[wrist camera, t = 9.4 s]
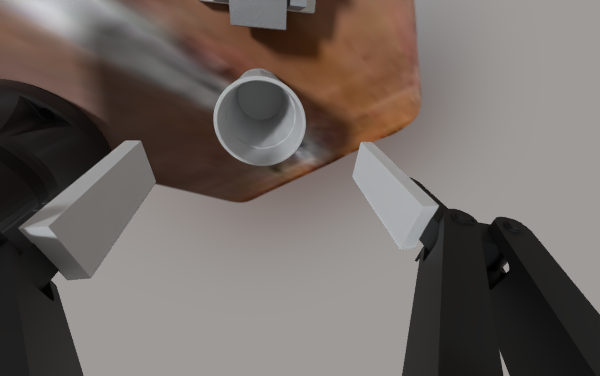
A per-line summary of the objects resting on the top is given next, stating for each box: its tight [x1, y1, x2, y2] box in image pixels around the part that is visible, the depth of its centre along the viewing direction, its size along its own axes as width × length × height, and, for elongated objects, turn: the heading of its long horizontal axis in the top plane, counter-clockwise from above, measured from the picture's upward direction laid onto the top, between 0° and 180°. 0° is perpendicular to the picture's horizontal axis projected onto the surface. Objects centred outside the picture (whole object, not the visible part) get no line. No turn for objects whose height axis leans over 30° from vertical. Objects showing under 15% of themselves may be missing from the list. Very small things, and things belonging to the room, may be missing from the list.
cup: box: [214, 68, 306, 166], centre depth 24 cm, size 8×8×12 cm
